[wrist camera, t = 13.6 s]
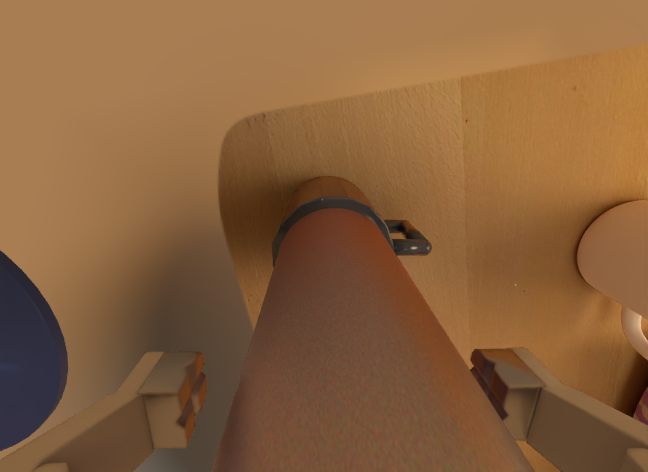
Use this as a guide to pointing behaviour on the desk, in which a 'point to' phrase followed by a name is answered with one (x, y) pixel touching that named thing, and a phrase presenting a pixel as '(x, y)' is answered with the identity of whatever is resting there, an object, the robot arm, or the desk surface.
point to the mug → (350, 197)
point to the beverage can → (356, 368)
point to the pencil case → (642, 409)
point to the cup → (620, 264)
